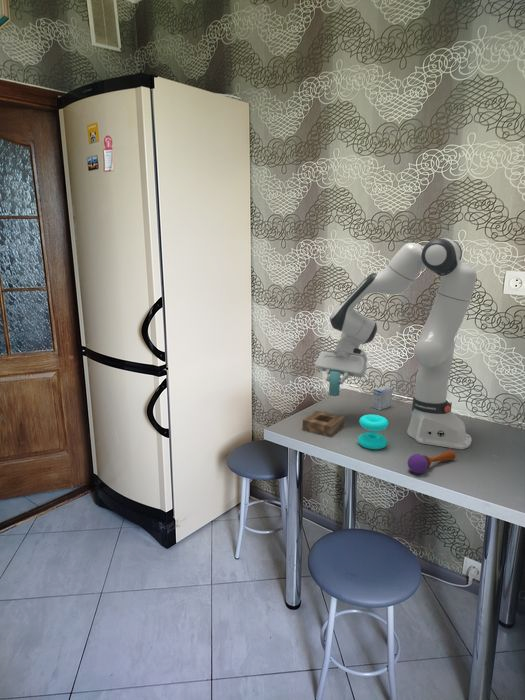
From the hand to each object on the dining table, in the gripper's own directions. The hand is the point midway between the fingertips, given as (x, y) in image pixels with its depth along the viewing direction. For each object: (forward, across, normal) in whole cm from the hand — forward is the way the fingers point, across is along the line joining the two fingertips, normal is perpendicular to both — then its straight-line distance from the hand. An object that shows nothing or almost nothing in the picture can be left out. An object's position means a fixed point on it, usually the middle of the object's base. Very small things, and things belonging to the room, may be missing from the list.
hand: (333, 382), depth 178 cm
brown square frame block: (+16, -1, +9) cm, 18 cm away
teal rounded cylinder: (+3, 0, +4) cm, 5 cm away
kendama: (+22, +42, +3) cm, 47 cm away
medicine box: (-9, +9, +34) cm, 37 cm away
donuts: (+19, +20, +6) cm, 28 cm away
